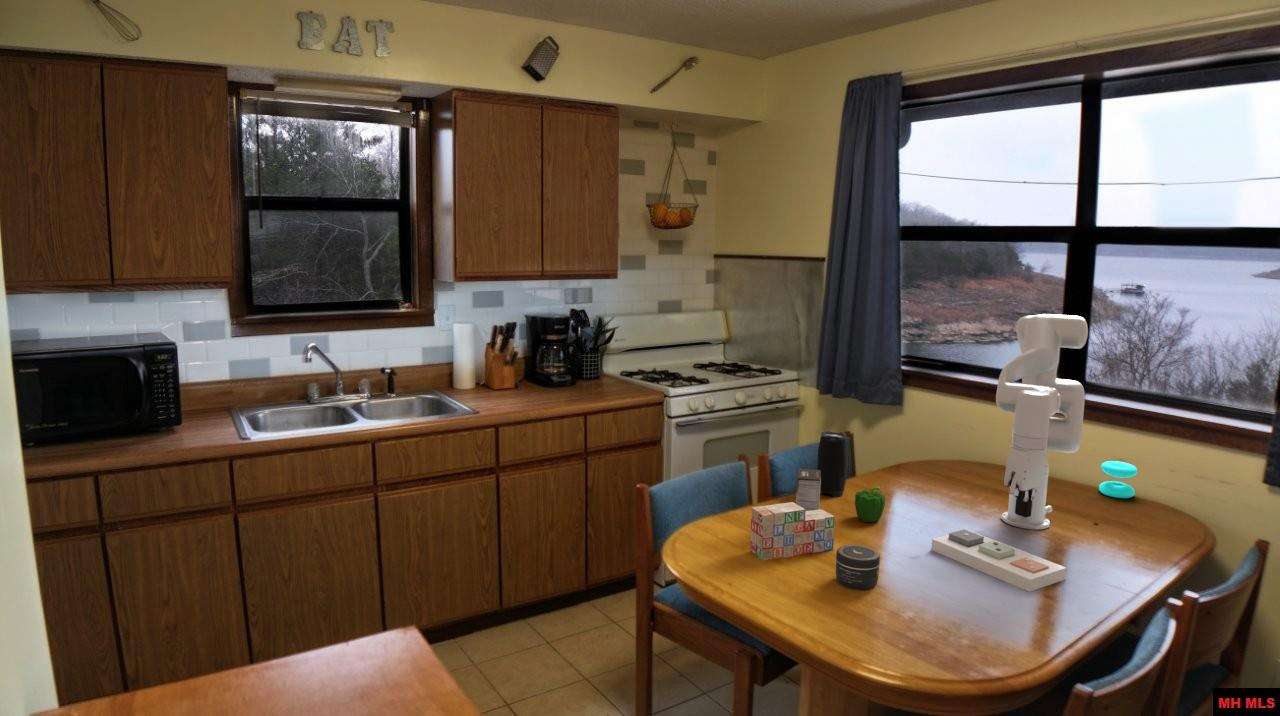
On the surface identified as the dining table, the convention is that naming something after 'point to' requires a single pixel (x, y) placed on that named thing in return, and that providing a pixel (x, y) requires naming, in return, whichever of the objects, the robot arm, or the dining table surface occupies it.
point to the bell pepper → (869, 504)
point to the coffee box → (808, 489)
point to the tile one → (966, 538)
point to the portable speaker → (832, 462)
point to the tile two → (996, 550)
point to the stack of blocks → (790, 531)
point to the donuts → (1116, 487)
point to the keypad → (1001, 564)
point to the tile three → (1029, 565)
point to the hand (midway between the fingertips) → (1022, 515)
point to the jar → (857, 567)
